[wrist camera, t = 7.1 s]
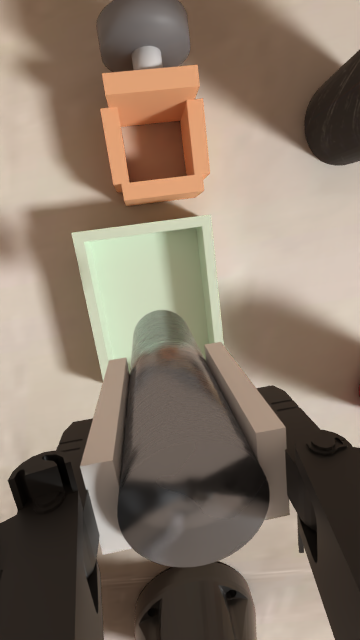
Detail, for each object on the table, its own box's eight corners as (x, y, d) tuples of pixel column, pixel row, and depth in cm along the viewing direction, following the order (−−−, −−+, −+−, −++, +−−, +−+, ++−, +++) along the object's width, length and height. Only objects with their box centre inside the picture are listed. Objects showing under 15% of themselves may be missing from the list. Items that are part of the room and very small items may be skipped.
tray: (218, 367, 32) (227, 384, 29) (112, 386, 31) (108, 405, 28) (202, 217, 28) (210, 214, 25) (80, 233, 27) (71, 232, 24)
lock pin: (192, 358, 20) (273, 550, 8) (138, 367, 20) (131, 580, 8) (186, 305, 19) (265, 426, 7) (128, 314, 19) (103, 458, 7)
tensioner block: (202, 196, 28) (222, 181, 21) (119, 207, 27) (111, 195, 20) (187, 59, 25) (206, -14, 18) (96, 67, 25) (76, -4, 17)
